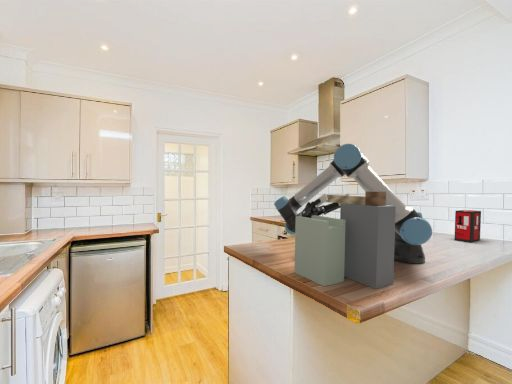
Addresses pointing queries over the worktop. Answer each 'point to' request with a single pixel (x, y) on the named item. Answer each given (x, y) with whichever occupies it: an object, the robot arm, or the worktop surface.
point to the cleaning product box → (467, 225)
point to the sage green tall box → (320, 249)
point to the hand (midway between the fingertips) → (338, 196)
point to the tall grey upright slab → (369, 243)
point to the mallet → (361, 199)
